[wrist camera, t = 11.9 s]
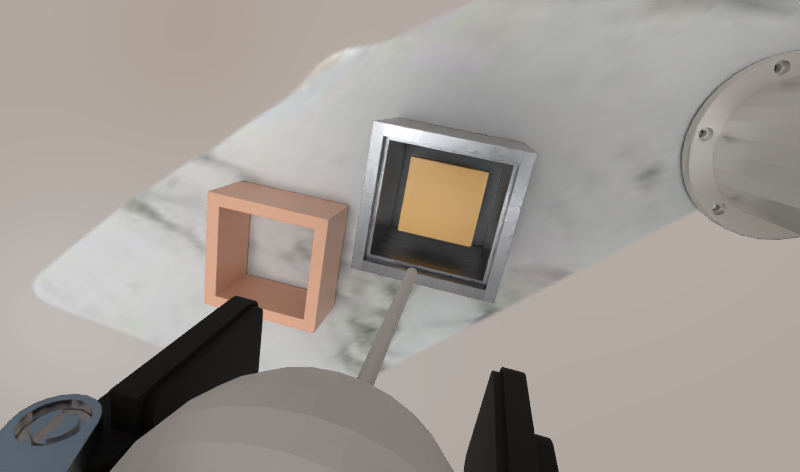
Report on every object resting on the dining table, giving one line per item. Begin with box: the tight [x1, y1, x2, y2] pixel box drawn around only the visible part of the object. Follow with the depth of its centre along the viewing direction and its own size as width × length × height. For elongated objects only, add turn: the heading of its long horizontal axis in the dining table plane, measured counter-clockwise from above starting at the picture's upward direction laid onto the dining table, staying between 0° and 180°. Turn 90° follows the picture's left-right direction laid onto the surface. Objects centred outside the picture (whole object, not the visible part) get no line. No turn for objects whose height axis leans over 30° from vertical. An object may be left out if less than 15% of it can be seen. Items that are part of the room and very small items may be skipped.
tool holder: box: [204, 181, 348, 333], centre depth 36 cm, size 10×10×5 cm
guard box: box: [351, 118, 536, 303], centre depth 31 cm, size 10×10×8 cm
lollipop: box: [110, 268, 454, 472], centre depth 11 cm, size 6×6×15 cm
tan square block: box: [398, 156, 489, 247], centre depth 32 cm, size 6×6×4 cm
